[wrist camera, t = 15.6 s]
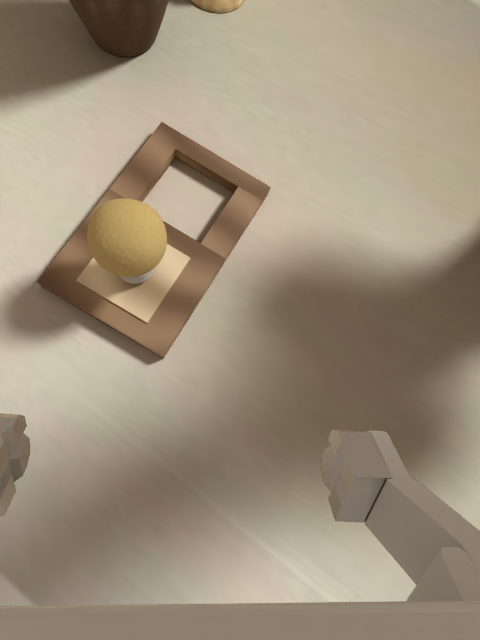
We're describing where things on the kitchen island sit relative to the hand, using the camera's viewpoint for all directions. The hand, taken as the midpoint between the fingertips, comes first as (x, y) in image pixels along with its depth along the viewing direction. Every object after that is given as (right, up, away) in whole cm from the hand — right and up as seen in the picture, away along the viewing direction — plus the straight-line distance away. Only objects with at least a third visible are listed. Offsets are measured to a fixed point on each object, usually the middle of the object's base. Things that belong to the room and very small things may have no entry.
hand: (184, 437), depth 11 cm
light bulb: (-9, +8, +30) cm, 32 cm away
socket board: (-7, +12, +32) cm, 35 cm away
